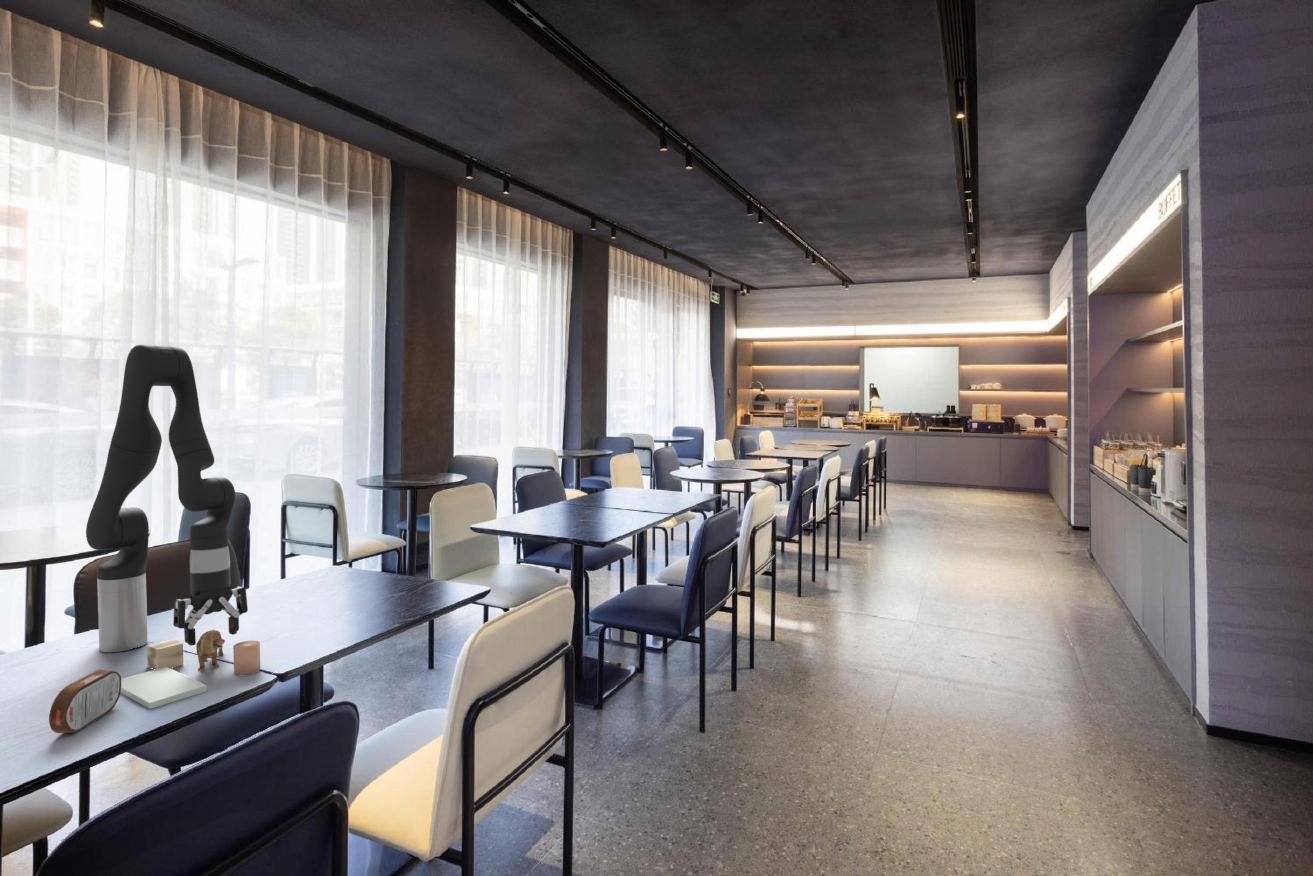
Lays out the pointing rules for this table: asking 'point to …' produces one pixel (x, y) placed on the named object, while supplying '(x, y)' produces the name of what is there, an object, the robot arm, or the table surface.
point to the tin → (85, 701)
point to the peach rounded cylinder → (246, 657)
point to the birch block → (165, 654)
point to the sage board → (160, 687)
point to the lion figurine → (209, 648)
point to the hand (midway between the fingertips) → (212, 639)
